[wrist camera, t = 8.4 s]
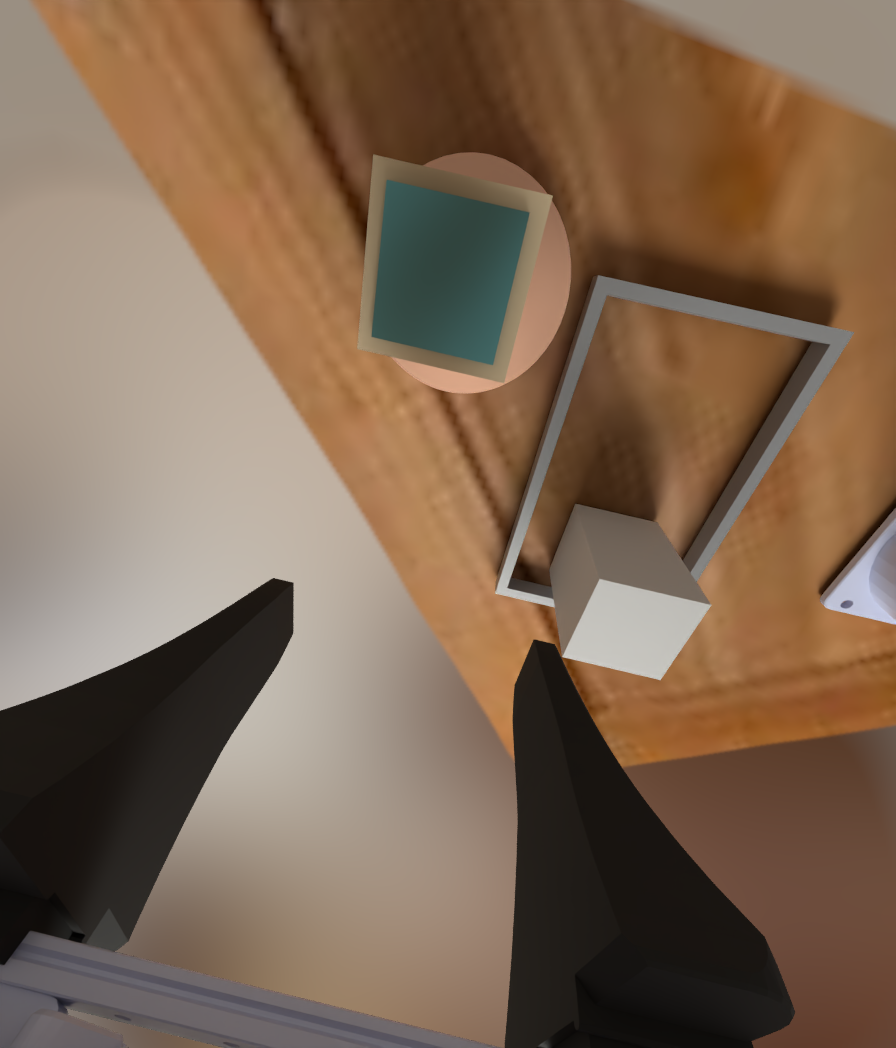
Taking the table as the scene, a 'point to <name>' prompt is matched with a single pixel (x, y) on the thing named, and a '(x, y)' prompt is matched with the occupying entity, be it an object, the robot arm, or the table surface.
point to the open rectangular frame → (755, 461)
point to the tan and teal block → (447, 267)
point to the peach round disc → (544, 289)
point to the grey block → (622, 593)
